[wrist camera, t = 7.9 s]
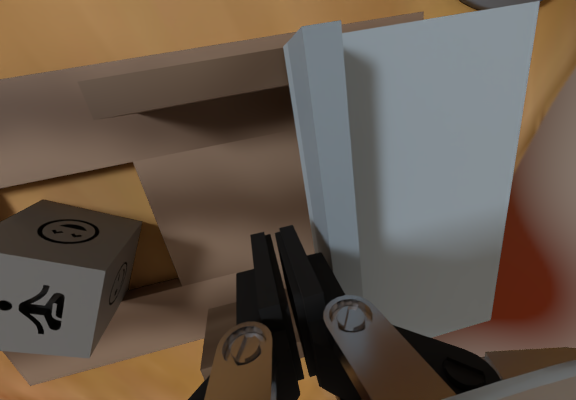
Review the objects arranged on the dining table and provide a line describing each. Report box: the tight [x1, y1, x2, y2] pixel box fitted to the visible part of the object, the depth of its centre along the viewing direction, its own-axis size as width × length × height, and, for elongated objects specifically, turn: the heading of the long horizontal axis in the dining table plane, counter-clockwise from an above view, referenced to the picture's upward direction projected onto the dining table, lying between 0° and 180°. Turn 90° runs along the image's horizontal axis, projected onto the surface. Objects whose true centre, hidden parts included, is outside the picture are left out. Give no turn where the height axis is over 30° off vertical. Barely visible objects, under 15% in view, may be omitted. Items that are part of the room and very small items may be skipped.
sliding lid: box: [283, 1, 540, 338], centre depth 11 cm, size 15×9×3 cm, turn 10°
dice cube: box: [0, 200, 142, 358], centre depth 14 cm, size 5×5×5 cm
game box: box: [0, 12, 424, 386], centre depth 14 cm, size 17×27×5 cm, turn 100°
